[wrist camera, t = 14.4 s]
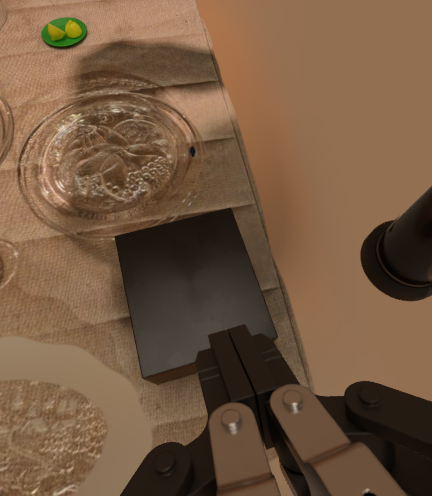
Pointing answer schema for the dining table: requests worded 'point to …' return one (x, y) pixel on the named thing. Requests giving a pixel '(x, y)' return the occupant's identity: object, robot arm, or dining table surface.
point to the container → (2, 15)
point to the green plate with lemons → (64, 31)
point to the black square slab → (188, 288)
